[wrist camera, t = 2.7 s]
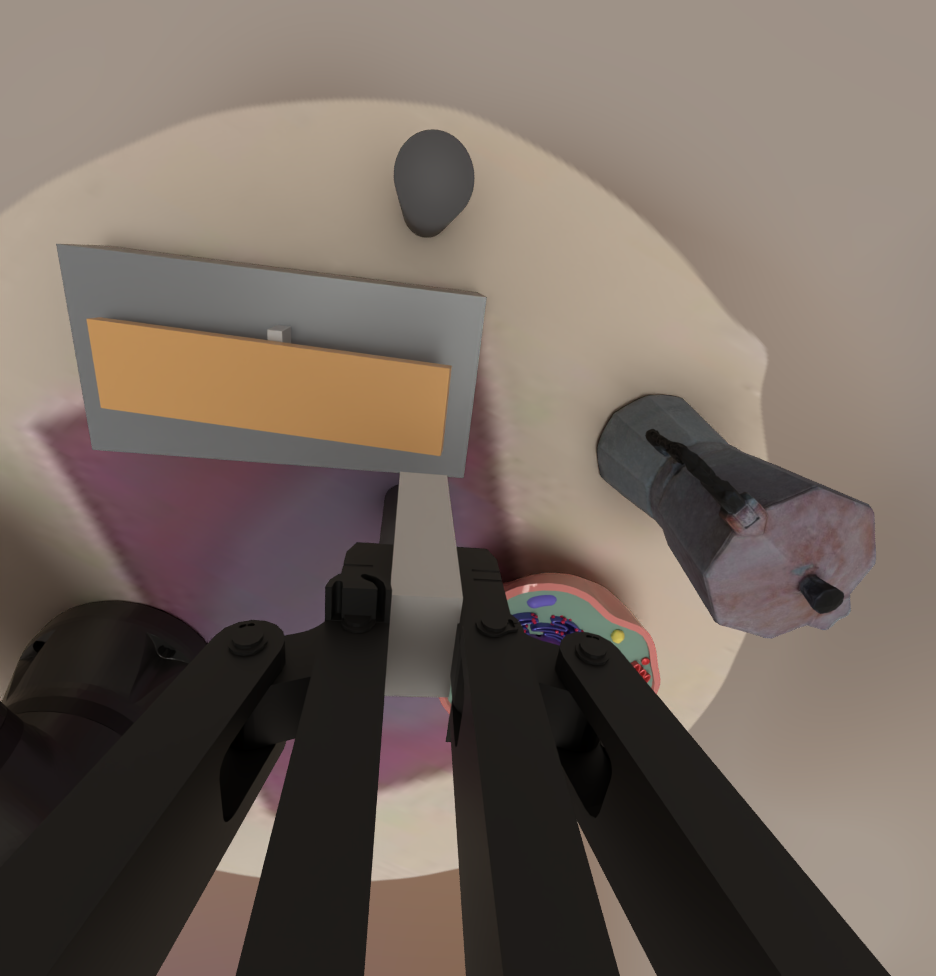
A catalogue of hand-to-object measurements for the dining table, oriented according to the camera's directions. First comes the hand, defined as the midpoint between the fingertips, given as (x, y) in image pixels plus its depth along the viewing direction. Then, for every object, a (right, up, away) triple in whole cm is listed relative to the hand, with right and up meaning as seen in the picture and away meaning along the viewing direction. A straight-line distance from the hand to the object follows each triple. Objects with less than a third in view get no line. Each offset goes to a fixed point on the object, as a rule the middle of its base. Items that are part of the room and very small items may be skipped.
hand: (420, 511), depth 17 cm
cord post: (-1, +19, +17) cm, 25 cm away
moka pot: (+16, +4, +25) cm, 30 cm away
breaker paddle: (-10, +7, +12) cm, 17 cm away
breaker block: (-10, +10, +20) cm, 25 cm away
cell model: (+8, -12, +32) cm, 35 cm away
